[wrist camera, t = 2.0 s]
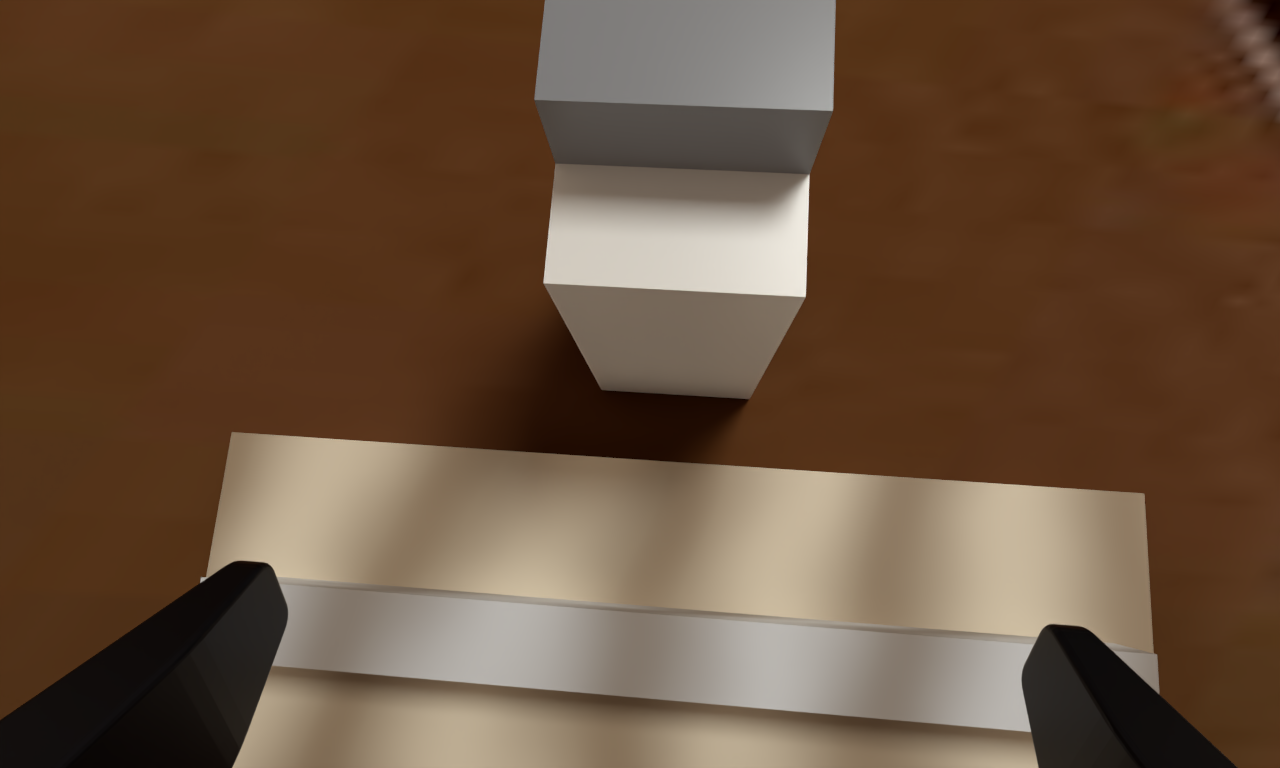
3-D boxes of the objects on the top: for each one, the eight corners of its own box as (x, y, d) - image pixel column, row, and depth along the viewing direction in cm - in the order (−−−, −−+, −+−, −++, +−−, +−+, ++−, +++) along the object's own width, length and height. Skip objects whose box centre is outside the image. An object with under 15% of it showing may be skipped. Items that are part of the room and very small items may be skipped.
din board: (1122, 495, 21) (1188, 489, 18) (1143, 880, 19) (1219, 938, 17) (250, 436, 23) (192, 423, 20) (190, 786, 21) (117, 824, 18)
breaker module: (756, 234, 23) (837, -67, 12) (749, 399, 22) (829, 253, 11) (614, 227, 24) (553, -73, 12) (601, 390, 23) (518, 239, 11)
